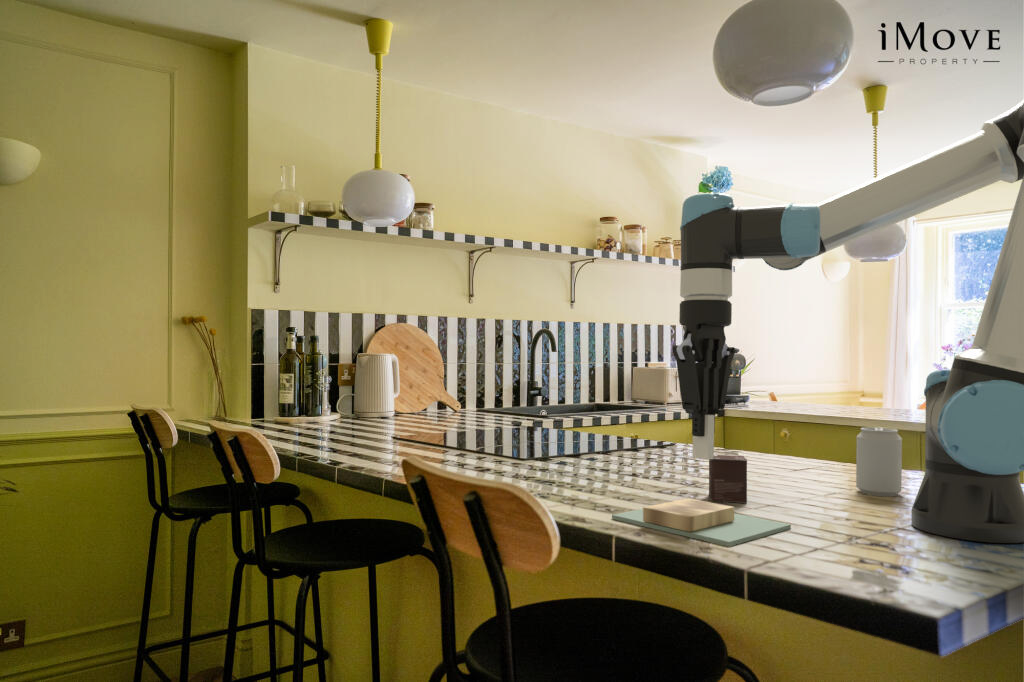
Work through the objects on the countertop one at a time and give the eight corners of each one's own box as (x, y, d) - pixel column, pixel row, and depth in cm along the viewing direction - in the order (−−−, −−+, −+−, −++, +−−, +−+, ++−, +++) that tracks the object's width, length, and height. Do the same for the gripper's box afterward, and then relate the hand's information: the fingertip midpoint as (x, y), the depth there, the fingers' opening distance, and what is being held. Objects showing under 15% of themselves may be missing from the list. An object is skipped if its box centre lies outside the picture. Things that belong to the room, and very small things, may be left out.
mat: (790, 528, 106) (790, 524, 106) (729, 546, 95) (729, 541, 95) (676, 505, 121) (676, 501, 121) (611, 518, 110) (611, 514, 110)
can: (857, 494, 133) (857, 428, 133) (855, 488, 140) (855, 425, 140) (903, 498, 130) (904, 431, 130) (899, 491, 137) (899, 427, 137)
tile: (734, 507, 107) (689, 517, 99) (734, 521, 107) (689, 533, 99) (688, 498, 113) (643, 507, 105) (688, 512, 113) (643, 522, 105)
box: (747, 503, 123) (747, 460, 123) (710, 501, 125) (710, 458, 125) (743, 497, 129) (743, 455, 129) (708, 495, 131) (708, 454, 131)
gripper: (709, 303, 116) (706, 452, 116) (658, 298, 108) (655, 458, 107) (751, 301, 110) (749, 457, 110) (701, 295, 102) (698, 465, 102)
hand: (702, 458), depth 109 cm, fingers closed
